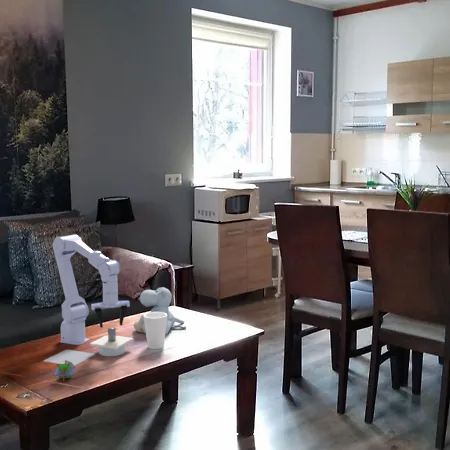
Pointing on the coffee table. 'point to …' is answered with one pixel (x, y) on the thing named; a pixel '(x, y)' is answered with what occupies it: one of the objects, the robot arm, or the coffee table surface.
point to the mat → (69, 357)
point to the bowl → (111, 351)
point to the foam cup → (155, 329)
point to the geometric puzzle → (64, 370)
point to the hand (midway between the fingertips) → (111, 325)
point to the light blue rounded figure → (157, 307)
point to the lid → (112, 340)
